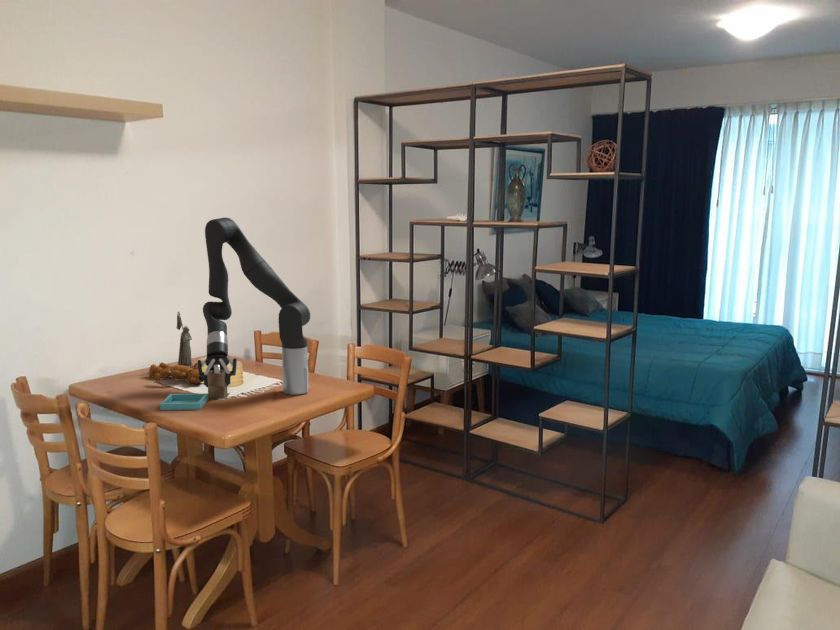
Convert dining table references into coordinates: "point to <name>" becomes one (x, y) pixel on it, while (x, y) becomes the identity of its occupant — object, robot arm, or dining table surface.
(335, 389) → the dining table surface
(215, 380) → the sleeve
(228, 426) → the dining table surface
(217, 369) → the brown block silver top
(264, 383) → the dining table surface
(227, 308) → the robot arm
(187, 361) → the wizard figurine
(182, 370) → the toy
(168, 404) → the tray
